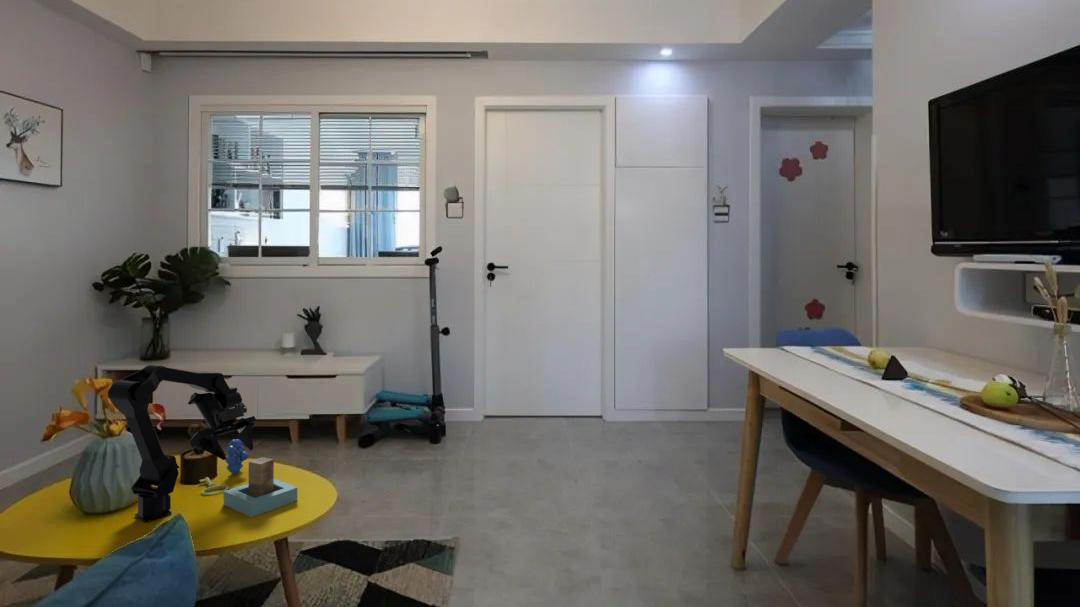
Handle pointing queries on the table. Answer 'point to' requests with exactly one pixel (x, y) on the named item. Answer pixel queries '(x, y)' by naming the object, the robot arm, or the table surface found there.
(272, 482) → the walnut block
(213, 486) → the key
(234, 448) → the grapes
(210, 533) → the table surface
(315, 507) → the table surface
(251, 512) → the box
